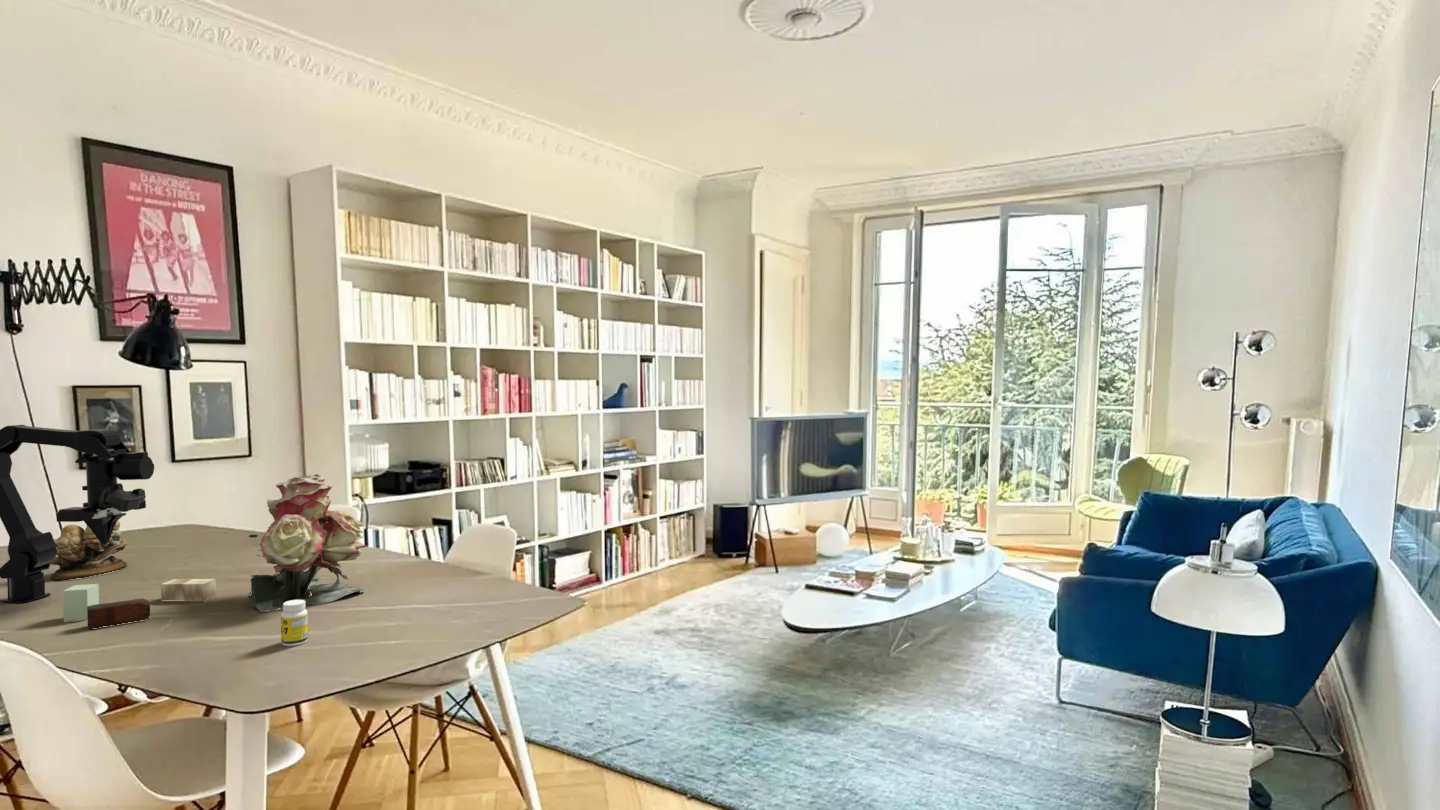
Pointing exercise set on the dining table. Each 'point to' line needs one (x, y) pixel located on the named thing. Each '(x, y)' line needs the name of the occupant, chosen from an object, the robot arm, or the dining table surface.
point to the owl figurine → (86, 553)
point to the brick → (117, 613)
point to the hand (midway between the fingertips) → (104, 543)
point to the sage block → (79, 601)
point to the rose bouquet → (305, 546)
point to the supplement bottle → (294, 623)
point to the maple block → (188, 589)
